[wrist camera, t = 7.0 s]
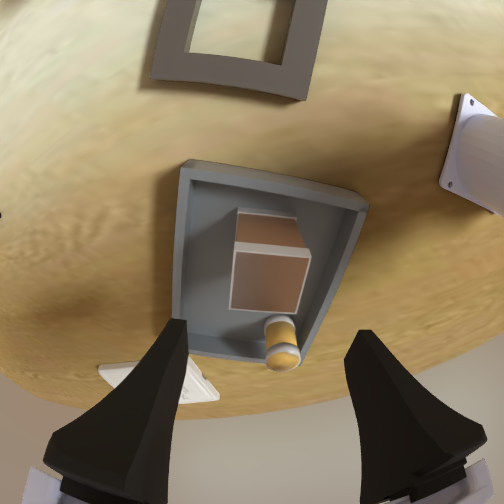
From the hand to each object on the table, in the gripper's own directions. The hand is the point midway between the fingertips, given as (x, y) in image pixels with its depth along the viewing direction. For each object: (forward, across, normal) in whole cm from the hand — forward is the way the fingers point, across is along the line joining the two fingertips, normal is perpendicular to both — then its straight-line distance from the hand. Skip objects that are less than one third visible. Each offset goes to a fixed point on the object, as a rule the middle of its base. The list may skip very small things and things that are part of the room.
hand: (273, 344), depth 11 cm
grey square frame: (+10, +3, -14) cm, 17 cm away
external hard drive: (+10, +10, +20) cm, 24 cm away
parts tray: (+10, 0, +3) cm, 10 cm away
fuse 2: (+9, -2, +8) cm, 12 cm away
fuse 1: (+9, 0, 0) cm, 9 cm away
